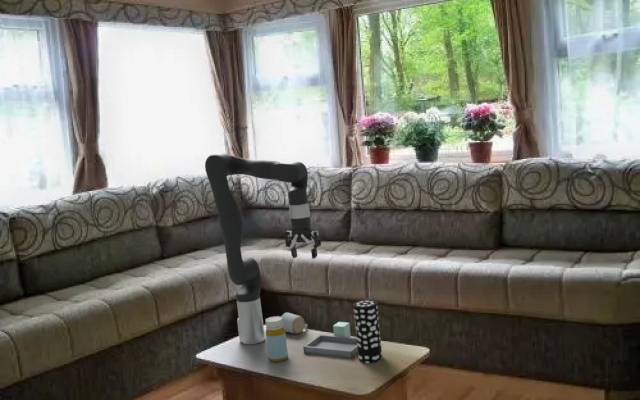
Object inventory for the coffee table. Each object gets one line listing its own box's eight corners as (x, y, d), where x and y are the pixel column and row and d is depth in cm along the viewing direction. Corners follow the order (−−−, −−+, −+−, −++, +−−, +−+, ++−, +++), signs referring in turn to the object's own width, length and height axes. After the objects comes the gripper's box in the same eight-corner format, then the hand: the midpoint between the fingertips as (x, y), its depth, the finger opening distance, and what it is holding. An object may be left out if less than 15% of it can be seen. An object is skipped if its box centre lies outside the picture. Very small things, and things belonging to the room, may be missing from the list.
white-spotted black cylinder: (355, 362, 226) (350, 307, 223) (362, 353, 234) (356, 299, 231) (379, 363, 223) (373, 307, 220) (384, 354, 231) (379, 299, 228)
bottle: (278, 363, 232) (273, 323, 230) (265, 360, 237) (260, 320, 235) (292, 356, 238) (287, 317, 235) (278, 353, 242) (273, 314, 240)
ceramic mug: (294, 336, 258) (292, 318, 257) (279, 333, 264) (278, 315, 263) (312, 328, 266) (310, 310, 265) (298, 325, 272) (296, 308, 271)
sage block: (334, 340, 249) (333, 325, 248) (340, 336, 253) (338, 321, 252) (345, 342, 247) (343, 326, 246) (350, 337, 251) (349, 322, 250)
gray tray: (304, 353, 240) (303, 346, 240) (320, 340, 251) (319, 334, 250) (351, 358, 230) (350, 351, 230) (366, 345, 241) (365, 338, 241)
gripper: (278, 217, 244) (283, 259, 246) (311, 217, 237) (316, 260, 239) (289, 214, 251) (293, 255, 253) (321, 213, 244) (325, 255, 246)
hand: (304, 257), depth 246 cm, fingers open, 8 cm apart
